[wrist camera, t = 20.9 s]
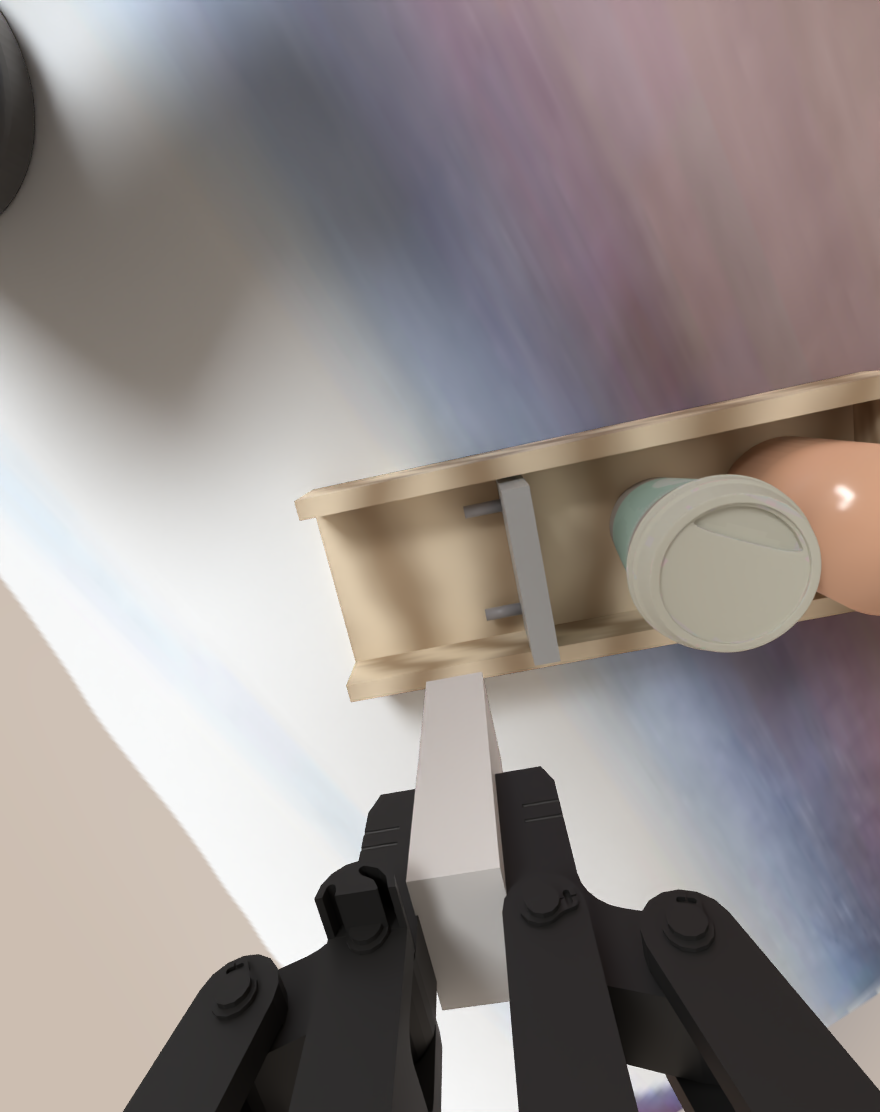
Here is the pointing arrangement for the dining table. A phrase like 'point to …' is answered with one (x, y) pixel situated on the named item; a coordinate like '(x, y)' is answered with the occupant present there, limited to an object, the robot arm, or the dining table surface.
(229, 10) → the dining table surface
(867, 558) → the jar
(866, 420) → the wooden tray
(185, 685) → the dining table surface
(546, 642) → the pusher
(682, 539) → the coffee cup
